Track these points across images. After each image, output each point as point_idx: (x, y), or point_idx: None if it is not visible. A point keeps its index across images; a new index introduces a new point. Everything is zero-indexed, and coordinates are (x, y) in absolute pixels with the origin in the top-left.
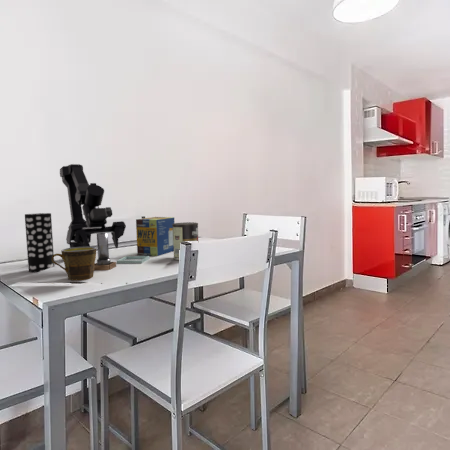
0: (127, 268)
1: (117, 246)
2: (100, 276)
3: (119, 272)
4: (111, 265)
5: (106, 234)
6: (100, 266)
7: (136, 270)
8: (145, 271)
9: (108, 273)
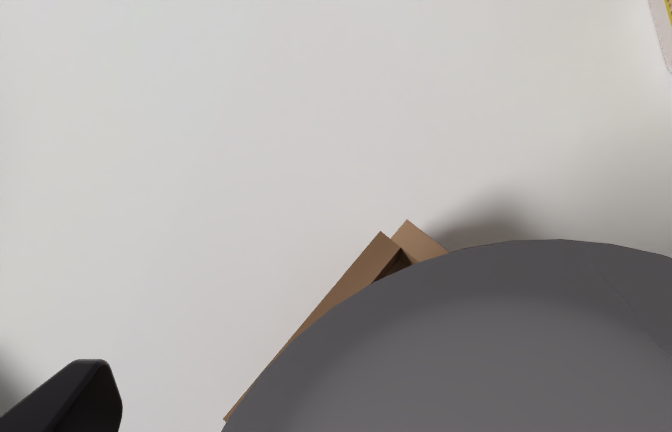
0: (120, 359)
1: (87, 360)
2: (535, 113)
3: (291, 185)
4: (345, 275)
5: (348, 302)
6: None
7: (97, 166)
8: (54, 55)
9: (414, 214)
